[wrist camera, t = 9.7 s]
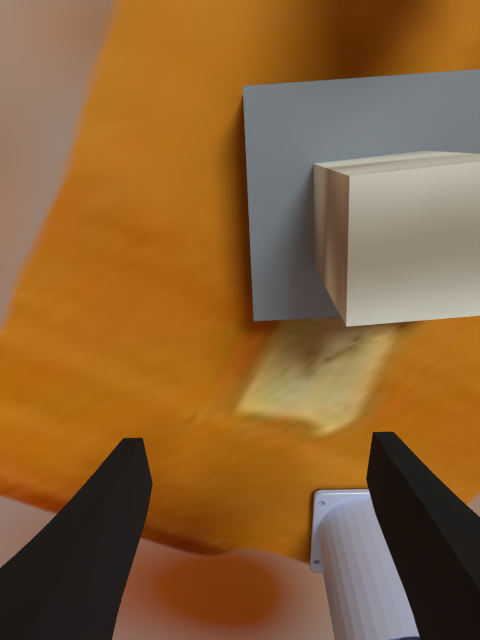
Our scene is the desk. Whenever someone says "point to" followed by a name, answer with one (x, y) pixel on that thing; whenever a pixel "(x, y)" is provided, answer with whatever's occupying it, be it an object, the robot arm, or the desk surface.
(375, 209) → the cream block
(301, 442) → the desk surface
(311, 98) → the base block
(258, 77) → the desk surface
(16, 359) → the desk surface
